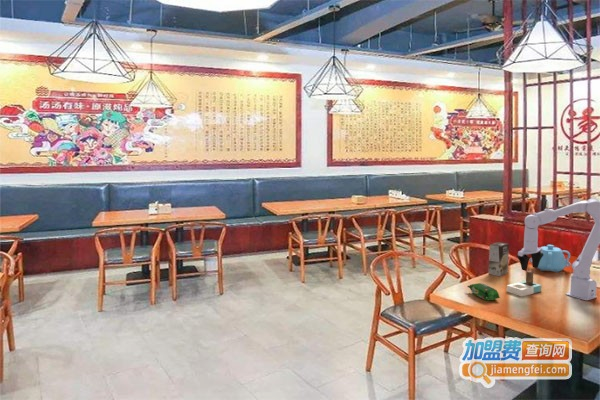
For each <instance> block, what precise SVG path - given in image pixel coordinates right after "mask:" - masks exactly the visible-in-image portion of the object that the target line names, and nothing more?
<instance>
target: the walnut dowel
mask: <svg viewBox="0 0 600 400" xmlns="http://www.w3.org/2000/svg"><path fill="white" fill-rule="evenodd" d="M525 281H526V285H528V286H533V283H534V271H533V270H527V271H526V272H525Z"/></svg>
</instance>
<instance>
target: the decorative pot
mask: <svg viewBox="0 0 600 400" xmlns="http://www.w3.org/2000/svg"><path fill="white" fill-rule="evenodd" d="M540 248H543V249H542V252H541V253H543V257H542V258H541V260H540V262H539V265H538V268H537V269H538V270H540V271H541V272H546V271H548V272H549V271H551V272H554V273H559V272H562V271H563V270H564V269H565V268H567V267H568V268H569V267H572V264H571V262H570V261H569V260H570V258H571V253H570V252H569V251H568V250H562V249H561V248H559V247H557V246H555V245H553V244H547V245H546V246H545V245H544V246H541V247H540ZM564 253H565V254H567V258H566V257H565V254H564ZM529 262H530V263H531V264H532V257H530V259H529Z"/></svg>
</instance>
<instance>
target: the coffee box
mask: <svg viewBox="0 0 600 400" xmlns="http://www.w3.org/2000/svg"><path fill="white" fill-rule="evenodd" d="M509 249H510V243H506V242H500V241H498V242H493V243H490V244H489V251H488V252H489V253H488V254H489V256H488V257H489V258H488V274H489V275H491V276H492V275H493V276H498V277H502V276H504V275H506V274H508V273H509V258H510V257H509V255H510V250H509Z"/></svg>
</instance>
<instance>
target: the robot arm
mask: <svg viewBox="0 0 600 400" xmlns="http://www.w3.org/2000/svg"><path fill="white" fill-rule="evenodd" d="M586 212H587V214H588V215H590V217H592V219H593V220H594V224H593V227H592V229H591V231H590V233H589V235H588V237H587V240H586V241H585V243H584V246H583V249H582V250H581V252H580V254H579V255H578V257H577V259H575V260H574V261H573V262H572V264H571V269H572V271H573V272H572V273H571V274H570V277H571V278H570V291H569V292H566V293H565V295H567V296H569V297H573V298H575V299H580V300H582V301H590V300H593V299H597V297H598V296H597V286H598V285H597V281H596V280H595V279H592V278H591V276H590V275H591V266H592V262H593V258H594V257H595V255H596V252H597V251H598V248H599V246H600V201H599V199H596V198H589V199H587V200H581V201H577V202H575V203H572V204H568V205H566V206H563V207H560V208H557V209H552V208H544V210H542V211H539V212H533V214H528V215H527V216H525V218H524V221H523V222H524V225H525V226H524V231H523V233H524V234H523V248H521V250H519V251H517V254H516V257H517V259H518V260H519V264H520V266H521V271H524V272H525V271H528V266H529V262H530V259H531V258H532V260H531V261H532V263H531V265H532V268H535V269H538V265H539V262H540V260H541V258H542V257H543V253H541V252H542V249H543V248H541V247H538V245H539V244H538V243H539V241H538V240H539V231H538V228H539V226H542V225H546V224H549V223H552V222H556V221H557V218H559V217H562V216H565V215H569V214H573V213H581V214H583V213H584V214H585V213H586ZM528 255H530V256H528Z"/></svg>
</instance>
